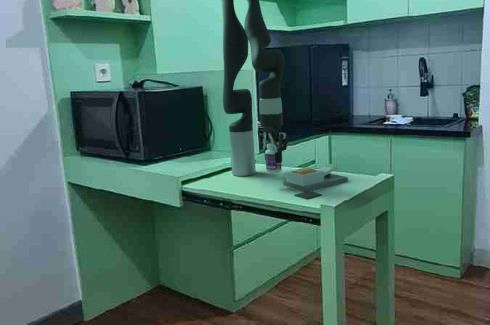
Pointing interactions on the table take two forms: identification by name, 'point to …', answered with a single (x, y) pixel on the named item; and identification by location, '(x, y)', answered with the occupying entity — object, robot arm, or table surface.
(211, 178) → the table surface
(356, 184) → the table surface
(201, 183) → the table surface
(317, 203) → the table surface
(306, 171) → the plunger
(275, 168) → the pill bottle
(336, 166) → the rocker
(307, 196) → the pad
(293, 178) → the panel
